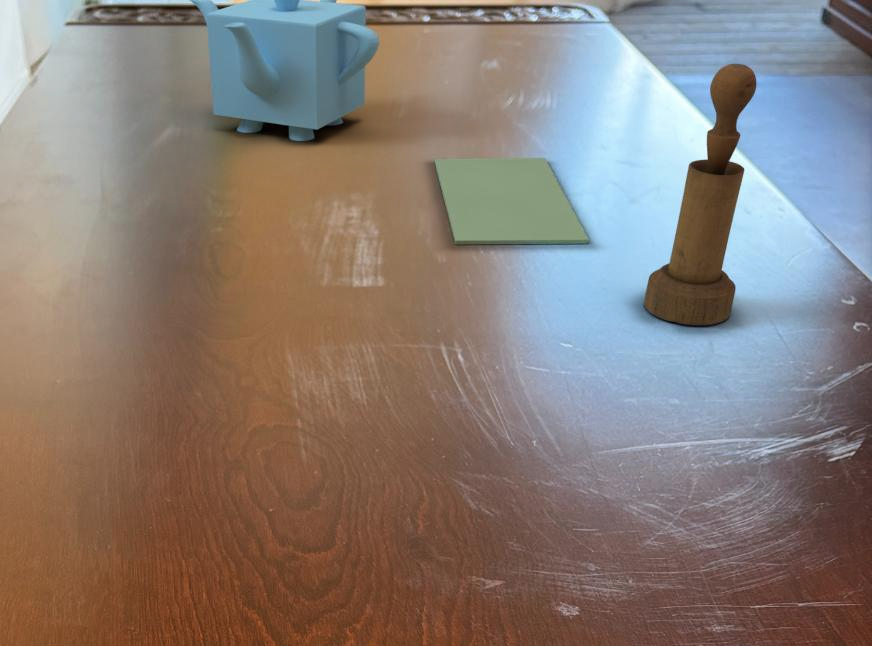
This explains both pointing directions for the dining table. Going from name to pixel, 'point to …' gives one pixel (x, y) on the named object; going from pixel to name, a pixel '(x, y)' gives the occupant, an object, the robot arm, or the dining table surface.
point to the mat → (506, 202)
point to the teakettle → (288, 62)
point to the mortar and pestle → (706, 217)
